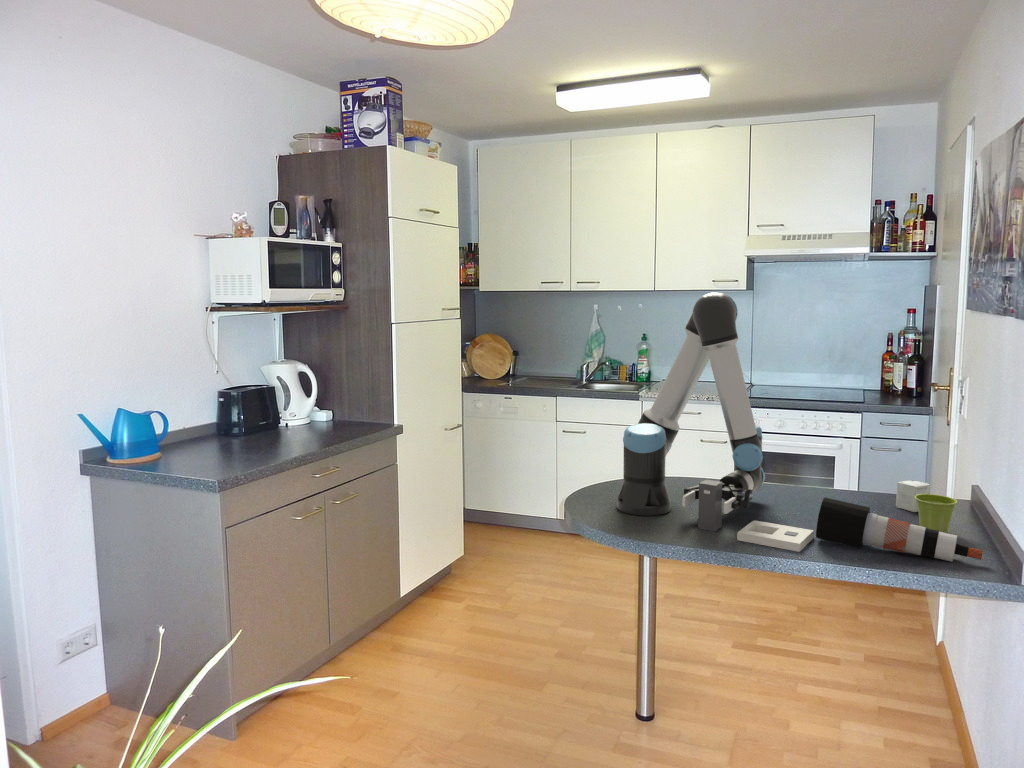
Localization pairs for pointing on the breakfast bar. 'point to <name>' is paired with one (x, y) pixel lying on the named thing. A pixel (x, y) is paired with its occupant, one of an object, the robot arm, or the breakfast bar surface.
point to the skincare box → (910, 494)
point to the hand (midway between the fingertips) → (704, 504)
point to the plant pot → (935, 511)
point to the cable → (885, 532)
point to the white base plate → (776, 535)
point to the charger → (710, 505)
